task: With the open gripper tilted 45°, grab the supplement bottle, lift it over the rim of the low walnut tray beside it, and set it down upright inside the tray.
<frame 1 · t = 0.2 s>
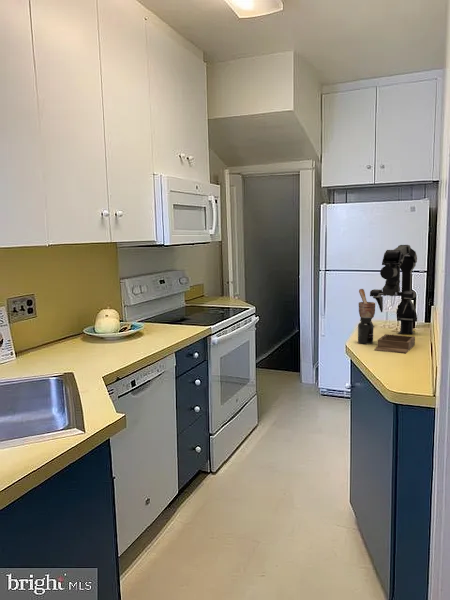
hand: (392, 312, 215), 14 cm above the counter, tool pointing down, fingers open, 9 cm apart
mortar and pestle: (364, 326, 259), on the counter
supplement bottle: (365, 343, 222), on the counter
walnut tray: (396, 346, 214), on the counter
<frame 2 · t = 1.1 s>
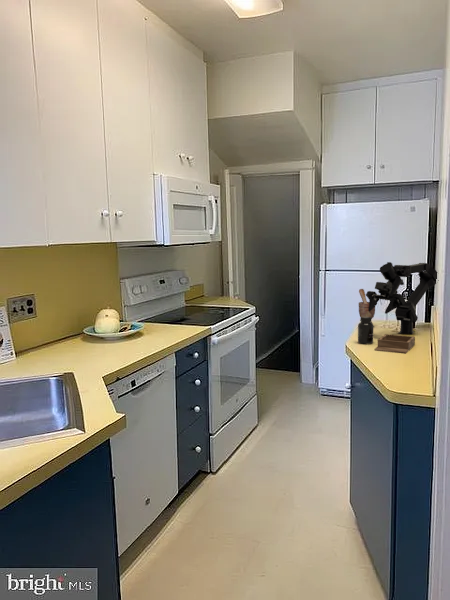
hand: (377, 312, 225), 13 cm above the counter, tool tilted 45°, fingers open, 9 cm apart
nothing on the counter moved.
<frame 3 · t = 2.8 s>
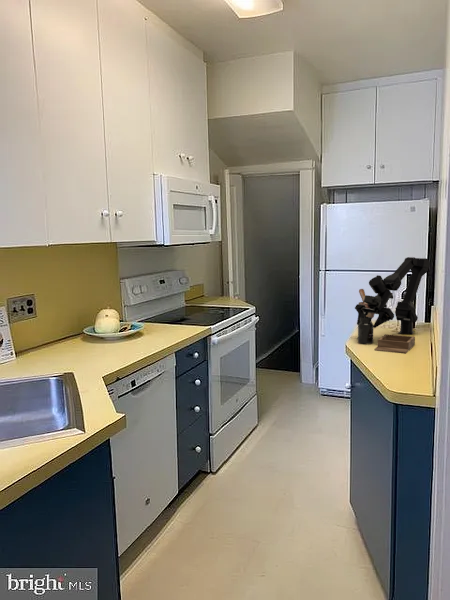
hand: (365, 326, 221), 8 cm above the counter, tool tilted 45°, fingers open, 9 cm apart
nothing on the counter moved.
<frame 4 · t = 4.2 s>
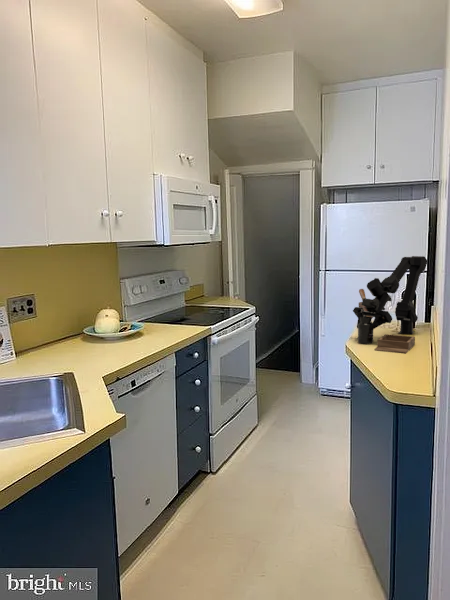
hand: (363, 329, 220), 7 cm above the counter, tool tilted 45°, fingers closed on supplement bottle, 7 cm apart
supplement bottle: (365, 343, 222), on the counter, touching gripper
everything else where it was.
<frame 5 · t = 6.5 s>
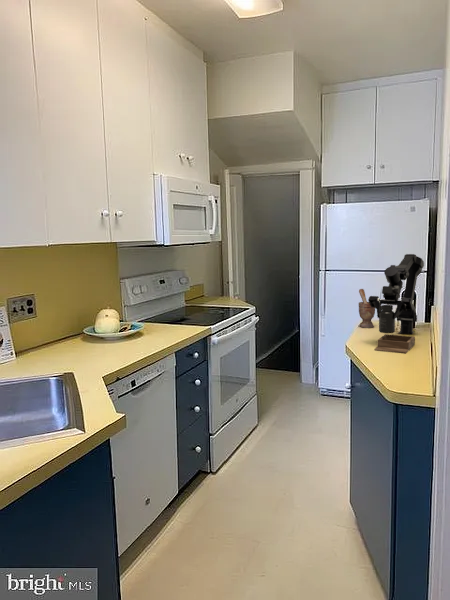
hand: (385, 317, 213), 13 cm above the counter, tool tilted 45°, fingers closed on supplement bottle, 7 cm apart
supplement bottle: (386, 332, 215), point 6 cm above the counter, touching gripper
everything else where it was.
when the fingers open (8 cm above the counter, at t = 8.9 s): supplement bottle drops 1 cm, resting on walnut tray.
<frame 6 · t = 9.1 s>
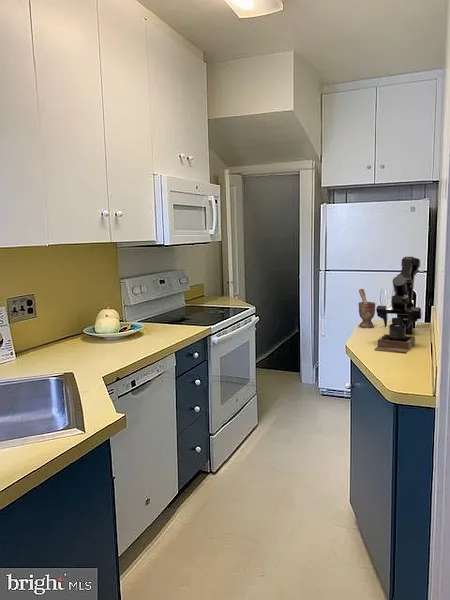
hand: (396, 327, 211), 9 cm above the counter, tool tilted 45°, fingers open, 9 cm apart
supplement bottle: (397, 345, 213), resting on walnut tray
everything else where it was.
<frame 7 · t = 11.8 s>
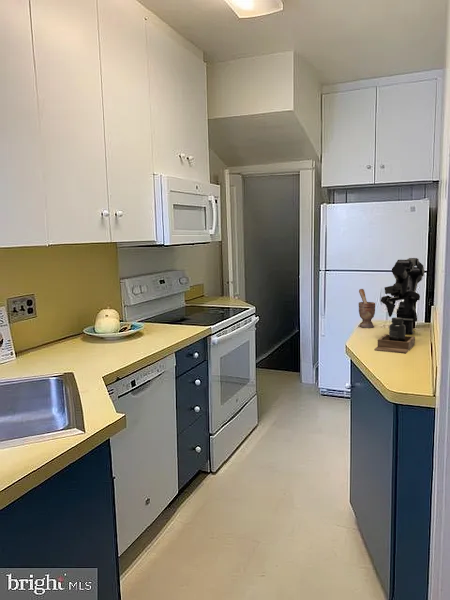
hand: (397, 315, 221), 12 cm above the counter, tool tilted 30°, fingers open, 9 cm apart
nothing on the counter moved.
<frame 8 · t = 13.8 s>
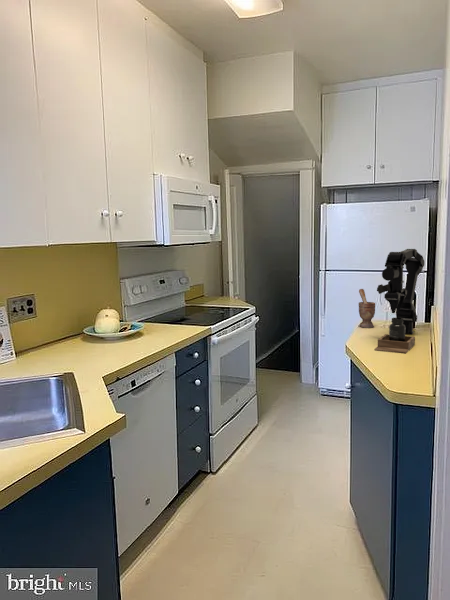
hand: (395, 311, 226), 13 cm above the counter, tool pointing down, fingers open, 9 cm apart
nothing on the counter moved.
at the end: supplement bottle 0.3 cm off-centre on the walnut tray, point 0.4 cm above the walnut tray's base; supplement bottle tilted 0°; the gripper is holding nothing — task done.
